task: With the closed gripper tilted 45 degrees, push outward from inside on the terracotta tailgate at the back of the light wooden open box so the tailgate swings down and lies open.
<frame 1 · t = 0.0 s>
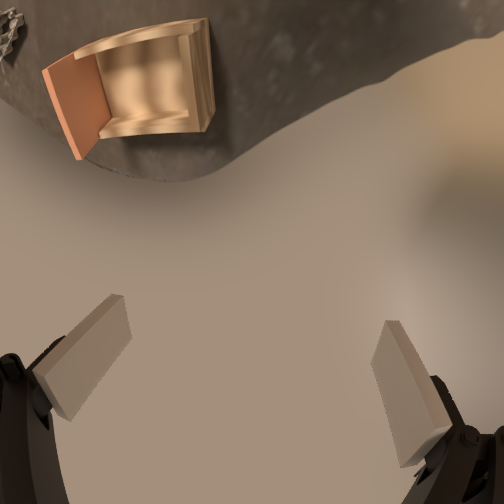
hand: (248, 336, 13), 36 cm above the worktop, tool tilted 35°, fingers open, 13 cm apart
egg carton: (11, 30, 20), on the worktop
wooden open box: (155, 70, 33), on the worktop
tailgate: (82, 97, 30), point 7 cm above the worktop, hinge at 0.0°
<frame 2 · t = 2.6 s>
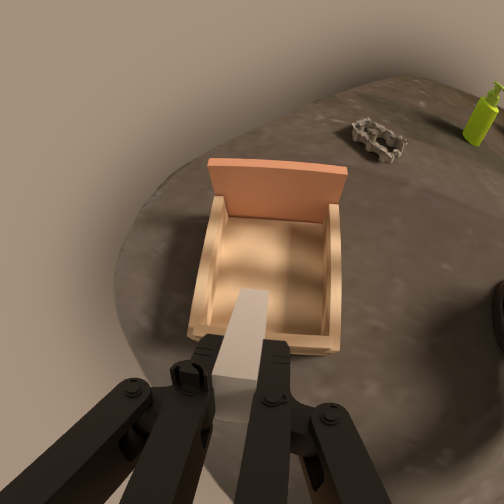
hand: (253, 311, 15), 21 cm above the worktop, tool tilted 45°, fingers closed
soap dispenser: (471, 140, 50), on the worktop
egg carton: (375, 146, 49), on the worktop
wooden open box: (270, 285, 37), on the worktop
tailgate: (276, 194, 35), point 7 cm above the worktop, hinge at 0.0°
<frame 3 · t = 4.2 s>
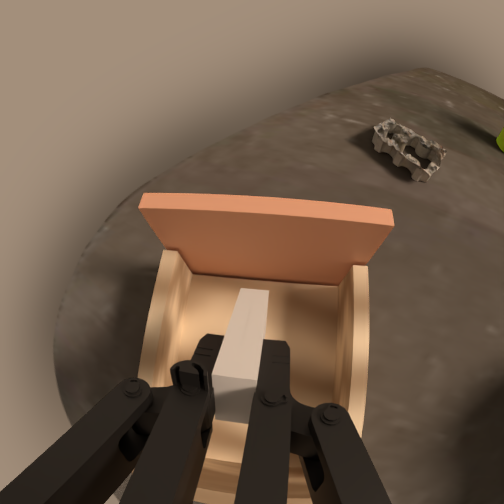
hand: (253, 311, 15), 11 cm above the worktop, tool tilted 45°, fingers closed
egg carton: (403, 157, 35), on the worktop
wooden open box: (254, 380, 23), on the worktop
tailgate: (265, 248, 21), point 7 cm above the worktop, hinge at 0.0°
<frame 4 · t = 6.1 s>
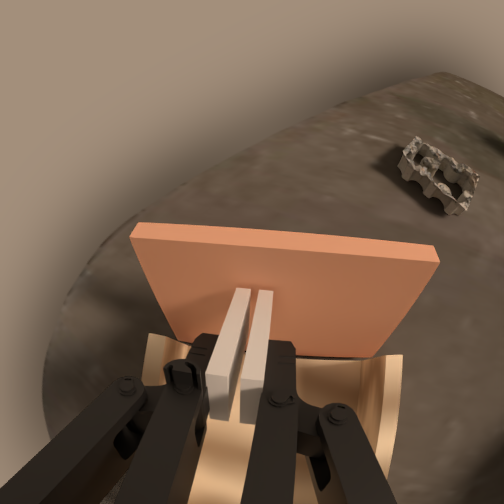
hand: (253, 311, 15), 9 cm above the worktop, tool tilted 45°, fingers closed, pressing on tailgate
egg carton: (432, 184, 29), on the worktop
wooden open box: (261, 458, 18), on the worktop
tailgate: (281, 308, 17), point 6 cm above the worktop, hinge at 19.3°, touching gripper
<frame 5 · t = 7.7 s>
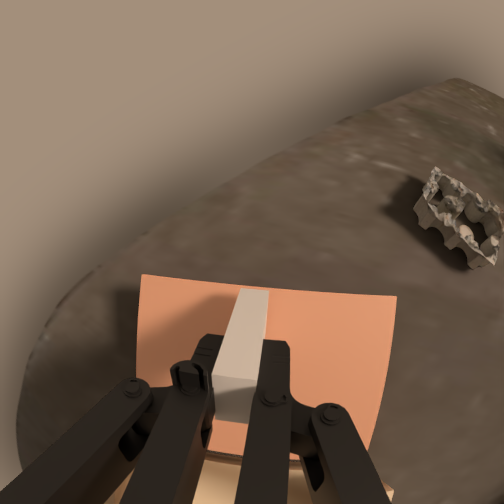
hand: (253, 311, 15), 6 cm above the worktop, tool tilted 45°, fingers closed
egg carton: (453, 228, 23), on the worktop
tailgate: (258, 379, 16), point 3 cm above the worktop, hinge at 72.4°, touching gripper
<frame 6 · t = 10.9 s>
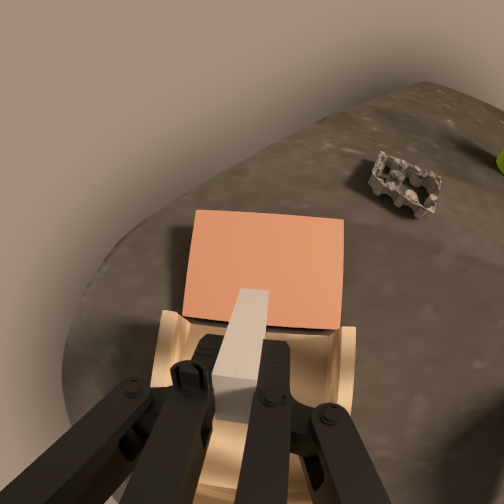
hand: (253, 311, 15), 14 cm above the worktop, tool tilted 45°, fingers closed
egg carton: (400, 193, 35), on the worktop
wooden open box: (250, 418, 24), on the worktop
tailgate: (265, 268, 28), point 2 cm above the worktop, hinge at 77.4°
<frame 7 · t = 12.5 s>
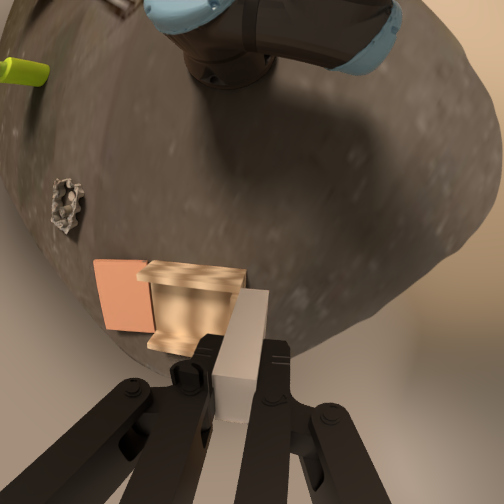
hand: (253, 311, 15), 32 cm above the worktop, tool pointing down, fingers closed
soap dispenser: (44, 74, 40), on the worktop
egg carton: (72, 203, 49), on the worktop
wooden open box: (198, 303, 52), on the worktop
tailgate: (124, 297, 52), point 2 cm above the worktop, hinge at 77.4°
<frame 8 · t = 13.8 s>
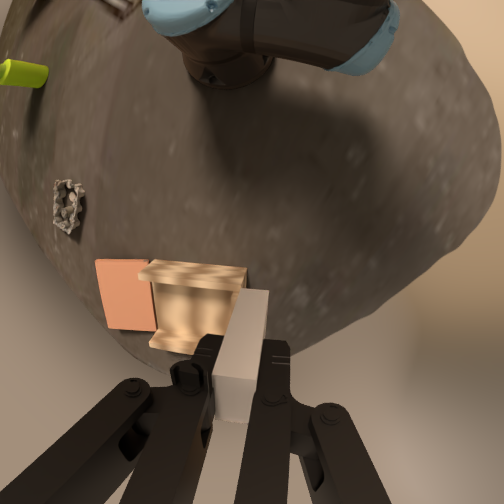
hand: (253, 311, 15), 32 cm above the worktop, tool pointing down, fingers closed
soap dispenser: (43, 75, 40), on the worktop
egg carton: (73, 203, 50), on the worktop
wooden open box: (199, 301, 53), on the worktop
tailgate: (126, 296, 52), point 2 cm above the worktop, hinge at 77.4°
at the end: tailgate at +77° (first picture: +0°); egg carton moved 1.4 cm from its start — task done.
